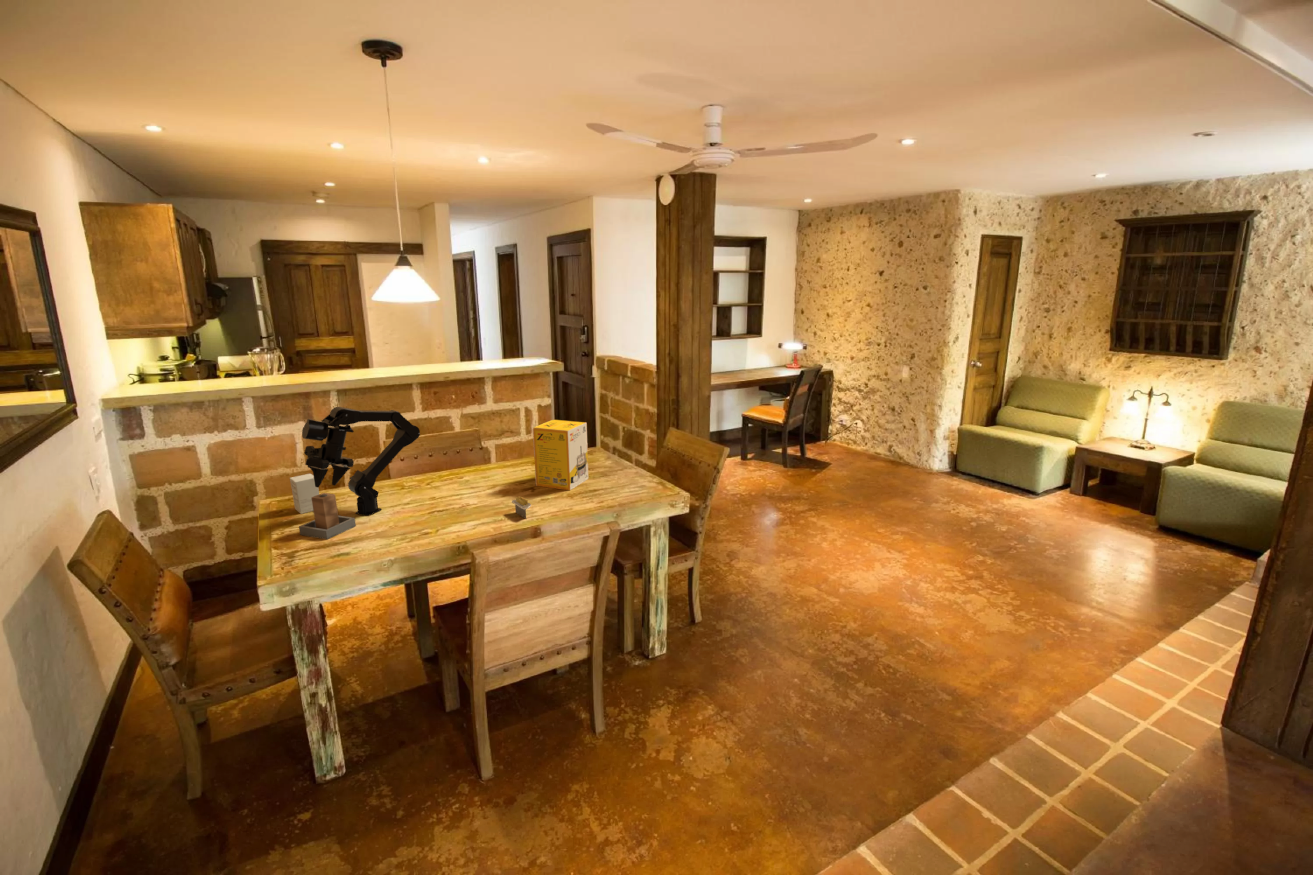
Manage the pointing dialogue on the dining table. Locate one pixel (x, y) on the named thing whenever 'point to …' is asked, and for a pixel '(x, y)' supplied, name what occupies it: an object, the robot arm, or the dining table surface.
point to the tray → (312, 531)
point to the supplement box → (303, 492)
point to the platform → (521, 506)
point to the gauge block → (325, 510)
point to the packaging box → (560, 454)
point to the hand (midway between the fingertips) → (325, 486)
